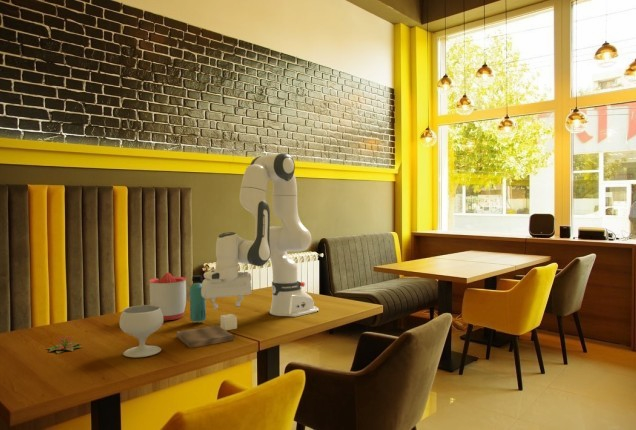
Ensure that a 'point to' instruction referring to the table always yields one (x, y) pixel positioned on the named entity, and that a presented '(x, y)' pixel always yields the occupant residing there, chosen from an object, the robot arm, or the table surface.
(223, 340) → the walnut base
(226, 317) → the off-white cube
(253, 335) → the table surface
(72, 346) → the lily flower
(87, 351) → the table surface
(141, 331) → the chalice
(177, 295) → the citrus juicer
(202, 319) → the beverage bottle
